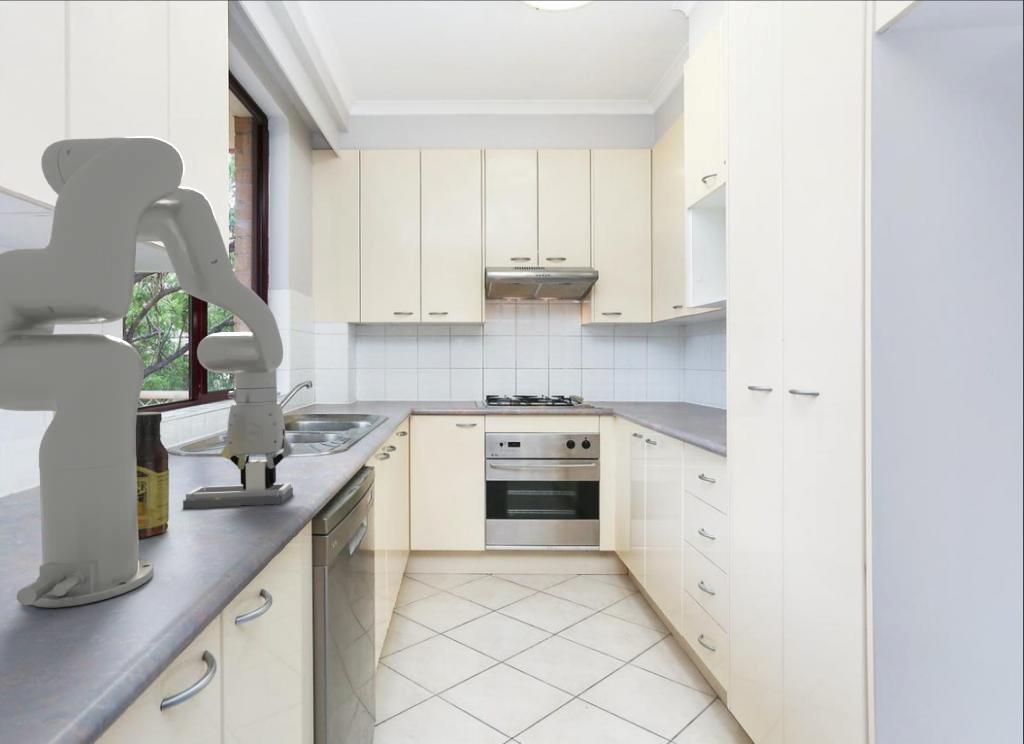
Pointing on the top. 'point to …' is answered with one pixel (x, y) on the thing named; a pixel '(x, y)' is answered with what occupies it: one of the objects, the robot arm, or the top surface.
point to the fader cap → (256, 475)
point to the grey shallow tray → (236, 496)
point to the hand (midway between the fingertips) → (258, 486)
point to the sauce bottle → (151, 476)
